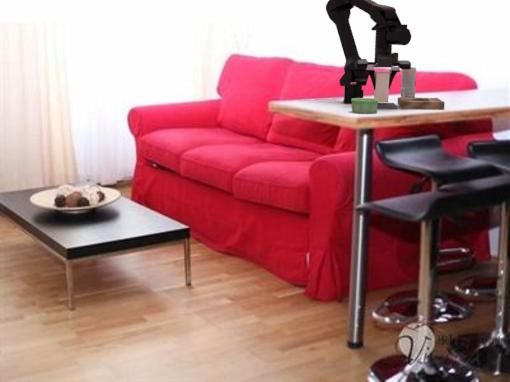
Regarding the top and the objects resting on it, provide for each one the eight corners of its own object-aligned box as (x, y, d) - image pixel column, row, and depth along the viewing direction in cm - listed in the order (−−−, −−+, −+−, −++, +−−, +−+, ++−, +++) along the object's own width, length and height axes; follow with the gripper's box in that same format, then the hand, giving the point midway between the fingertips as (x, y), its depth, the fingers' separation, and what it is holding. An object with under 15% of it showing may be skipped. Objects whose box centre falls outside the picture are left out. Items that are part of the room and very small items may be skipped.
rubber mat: (367, 108, 263) (367, 105, 263) (365, 105, 273) (365, 102, 272) (397, 109, 262) (397, 106, 262) (393, 105, 272) (393, 102, 272)
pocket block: (402, 109, 262) (403, 101, 262) (397, 104, 276) (397, 97, 275) (444, 109, 262) (444, 102, 261) (436, 104, 275) (437, 97, 275)
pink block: (375, 102, 265) (376, 72, 263) (374, 100, 269) (375, 72, 267) (388, 102, 265) (389, 73, 262) (386, 100, 269) (387, 72, 267)
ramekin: (375, 111, 258) (376, 97, 257) (380, 114, 249) (380, 100, 248) (348, 110, 257) (349, 97, 256) (352, 114, 249) (353, 100, 248)
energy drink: (414, 98, 294) (415, 67, 292) (415, 100, 289) (417, 68, 286) (399, 98, 295) (401, 67, 292) (401, 100, 290) (402, 68, 287)
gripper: (358, 44, 255) (356, 91, 259) (414, 45, 254) (411, 92, 258) (355, 43, 266) (353, 88, 270) (409, 44, 265) (407, 89, 269)
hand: (381, 89), depth 266 cm, fingers closed on pink block, 4 cm apart
